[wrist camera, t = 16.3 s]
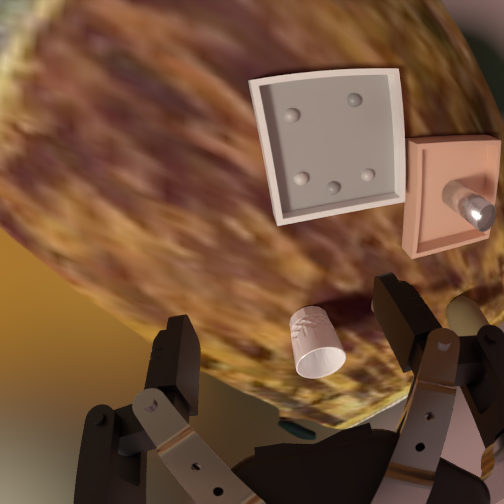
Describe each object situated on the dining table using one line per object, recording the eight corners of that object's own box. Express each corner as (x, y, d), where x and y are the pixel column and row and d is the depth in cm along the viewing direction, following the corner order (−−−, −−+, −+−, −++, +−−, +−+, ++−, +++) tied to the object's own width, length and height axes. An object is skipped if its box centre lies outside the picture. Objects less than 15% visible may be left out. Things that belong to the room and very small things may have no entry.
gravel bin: (247, 80, 32) (249, 80, 29) (385, 68, 31) (398, 68, 28) (273, 214, 41) (277, 226, 38) (393, 192, 40) (405, 201, 37)
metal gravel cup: (442, 181, 39) (479, 206, 31) (462, 178, 38) (499, 201, 31) (440, 207, 41) (474, 235, 33) (459, 203, 41) (494, 229, 33)
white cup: (302, 296, 49) (316, 341, 40) (338, 310, 51) (356, 353, 43) (277, 328, 52) (286, 373, 44) (312, 339, 55) (325, 381, 46)
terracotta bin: (404, 138, 36) (417, 144, 33) (487, 134, 35) (501, 140, 32) (401, 247, 45) (411, 259, 42) (477, 228, 45) (488, 238, 42)
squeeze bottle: (436, 320, 56) (474, 381, 41) (451, 291, 52) (496, 352, 37) (459, 317, 57) (496, 373, 42) (474, 289, 53) (517, 345, 38)
